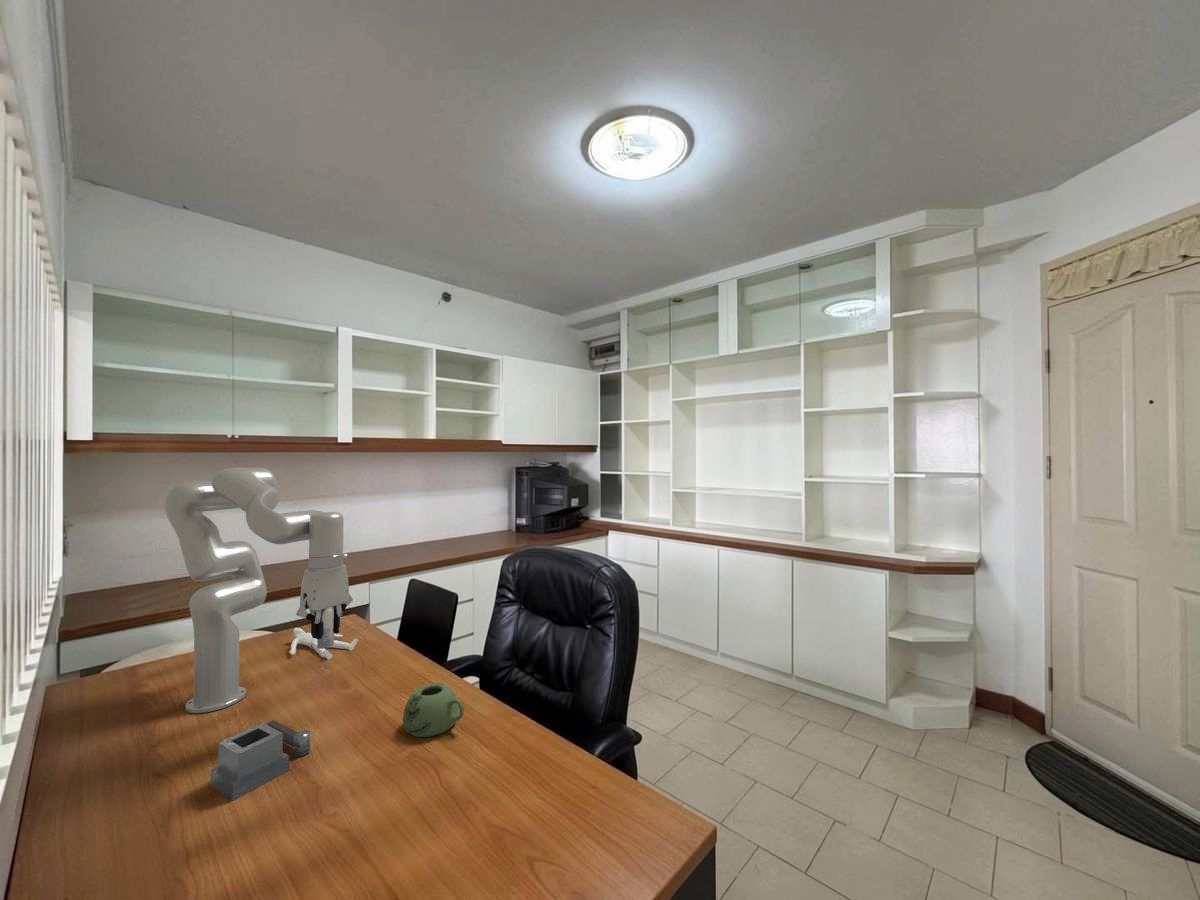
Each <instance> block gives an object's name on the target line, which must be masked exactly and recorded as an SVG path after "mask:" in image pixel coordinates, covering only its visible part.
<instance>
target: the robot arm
mask: <svg viewBox="0 0 1200 900" xmlns="http://www.w3.org/2000/svg"><path fill="white" fill-rule="evenodd" d="M276 487H277V480H276V477H275V475H274V474H273V472H272V471H271V470H269V469H268V468H265V467H260V466H259V467H255V466H254V467H230V468H229V467H228V468H225V469H222V470H219V472H217V473H215V475H214V476H213V477H212V479H211V480H197V481H196V480H195V481H194V480H193V481H188V482H183V483H180V484H176V485H175V486H173V487H171V488H170V489H169V491H168V492H167V494H166V497H165V501H164V509H165V514H166V518H167V519H168V522H169V523H170V525H171V527H172V528H173V530H174V532H175V534H176V536H177V539H178V541H179V546H180V549H181V553H182V557H183V560H184V564H185V568H186V570H187V573H188V575H189V577H190V578H191V580H193V581H195V582H207V581H213V580H217V579H222V578H225V577H230V576H231V577H232V579H231V580H230V579H229V580H228V579H227V580H224V581H221V582H217V583H212V584H209V585H206V586H204V587H201V588H200V589H198V590H197V591H195V592H194V593H193V594H192V596H191V597H190V599H189V603H188V605H189V606H188V607H189V612H190V616H191V621H192V629H193V697H191V698H190V699H189V700H188V701H187V702H186V703H185V711H186V712H187V713H191V714H204V713H209V712H214V711H219V710H222V709H225V708H227V707H230V706H232V705H234V704H236V703H239V702H240V701H241V700H243V698H244V697H245V696H246V694H247V689H246V688H245V687H243V686H240V629H239V627H238V625H237V624H236V623H235V622H234V621H233V620H232V618H231V617H232V616H235V615H236V614H237V615H238V614H240V613H243V612H247V611H250V610H252V609H255V608H258V607H260V606H261V605H262V604H264V602H265V600H266V598H267V594H268V593H267V592H268V590H267V584H266V581H265V577H264V573H263V570H262V567H261V564H260V560H259V556H258V553H257V551H256V549H255V547H253V546H252V544H251V543H250V542H247V541H244V540H233V541H227V542H224V541H223V540H222V538H221V535H220V532H219V531H220V530H219V528H218V526H217V525H216V524H215V523H214V522H213V520H211V518H209V517H207V516H206V515H204V514H203V512H212V511H222V510H223V511H225V510H233V509H240V510H242V511H244V512H245V520H246V524H247V526H248V528H249V530H250V531H251V532H252V533H253V534H254V535H256V536H257V537H259V538H261V539H263V540H264V541H266V542H268V543H270V544H272V545H273V544H274V545H287V544H291V543H296V542H297V543H298V542H302V541H308V568H306V569H305V570H304V572H303V576H302V581H301V587H300V597H299V608H298V609H297V611H296V614H295V615H296V616H298V617H301V618H304V619H305V620H307V621H308V622H309V623H310V633H311V635H312V637H313V638H316V639H321V638H322V623H321V622H320V617H321V610H323V609H326V608H328V607H332V606H334V634H336V635H338V634H340V633H339V632H340V627H341V624H340V623H341V621H340V620H341V617H342V616H343V612H344V611H345V610H346V609H347V607H348V606H349V605H350V604H351V603H353V601H354V598H353V597H352V596H351V594H350V592H349V591H350V587H349V586H350V585H349V575H348V570H347V566H346V564H344V560H346V559H347V558H348V554H347V553H344V515H343V514H342V513H340V512H337V511H336V512H335V511H326V512H325V511H321V510H314V509H313V510H312V509H311V510H300V511H290V512H283V513H278V512H276V511H275V508H276V507H277V506H278V504H279V501H280V494H279V491H278V490H277V489H276ZM307 610H309V612H307Z"/></svg>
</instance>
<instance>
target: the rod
mask: <svg viewBox="0 0 1200 900" xmlns="http://www.w3.org/2000/svg"><path fill="white" fill-rule="evenodd" d="M320 622H321V623H322V638H321V639H317V648H319V649H324V648H325V649H328V648H329V647H331V646H333V645H334V640H335V637H334V634H335V633H334V606H332V607H328V608H326V609H323V610H321V617H320Z"/></svg>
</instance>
